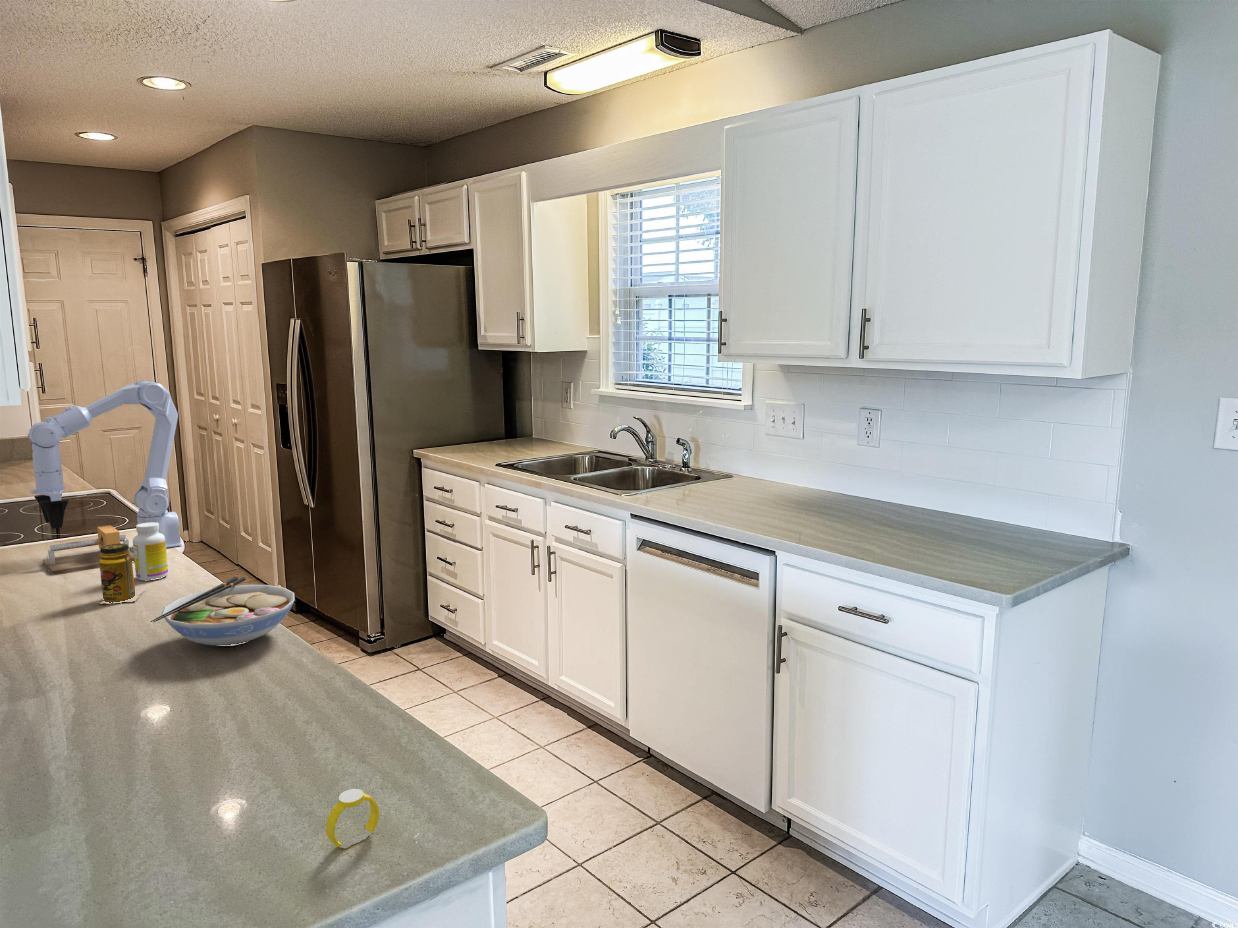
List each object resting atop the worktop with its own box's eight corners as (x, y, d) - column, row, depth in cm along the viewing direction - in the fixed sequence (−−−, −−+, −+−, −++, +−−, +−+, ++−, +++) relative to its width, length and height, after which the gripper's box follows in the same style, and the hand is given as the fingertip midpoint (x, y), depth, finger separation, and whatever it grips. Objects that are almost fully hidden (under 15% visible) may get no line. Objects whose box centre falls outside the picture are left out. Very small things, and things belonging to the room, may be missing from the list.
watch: (337, 860, 94) (331, 813, 93) (325, 849, 96) (319, 803, 95) (384, 833, 98) (379, 788, 97) (372, 823, 100) (366, 779, 99)
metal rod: (128, 551, 215) (126, 533, 214) (129, 553, 214) (128, 534, 213) (49, 564, 204) (47, 544, 203) (50, 565, 202) (48, 545, 202)
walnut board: (125, 550, 220) (125, 547, 219) (138, 561, 210) (137, 557, 210) (43, 563, 208) (42, 559, 207) (52, 575, 198) (52, 571, 198)
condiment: (96, 606, 177) (91, 551, 175) (107, 593, 185) (102, 541, 183) (135, 602, 179) (130, 548, 177) (144, 591, 187) (140, 538, 185)
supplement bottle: (174, 574, 200) (170, 521, 198) (156, 582, 193) (152, 528, 191) (148, 573, 200) (143, 520, 198) (129, 581, 194) (124, 527, 192)
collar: (112, 546, 216) (110, 525, 215) (121, 553, 209) (119, 531, 208) (99, 548, 214) (97, 526, 213) (107, 555, 207) (105, 533, 206)
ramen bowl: (245, 671, 144) (242, 626, 143) (130, 660, 148) (126, 616, 147) (324, 622, 168) (321, 582, 167) (223, 613, 173) (220, 575, 171)
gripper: (23, 469, 208) (29, 522, 210) (33, 477, 197) (39, 533, 200) (57, 466, 213) (63, 518, 215) (68, 473, 202) (74, 528, 204)
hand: (54, 525), depth 208 cm, fingers open, 7 cm apart
